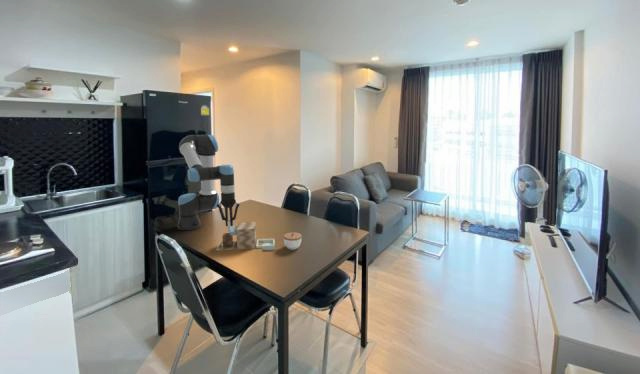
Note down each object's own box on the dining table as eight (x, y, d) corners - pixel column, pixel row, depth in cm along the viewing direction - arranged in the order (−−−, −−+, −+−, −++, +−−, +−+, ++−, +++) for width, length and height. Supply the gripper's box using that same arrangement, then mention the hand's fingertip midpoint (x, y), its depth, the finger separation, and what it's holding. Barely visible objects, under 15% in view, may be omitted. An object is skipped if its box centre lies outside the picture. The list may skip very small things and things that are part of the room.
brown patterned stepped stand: (215, 252, 172) (214, 230, 169) (219, 244, 183) (218, 223, 181) (255, 250, 175) (254, 228, 172) (256, 242, 187) (255, 222, 184)
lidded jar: (291, 242, 188) (291, 228, 186) (305, 246, 182) (305, 232, 180) (279, 248, 179) (279, 233, 177) (293, 252, 173) (293, 237, 171)
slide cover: (229, 235, 172) (229, 232, 172) (232, 229, 182) (232, 226, 181) (247, 234, 174) (247, 231, 173) (249, 228, 183) (249, 225, 183)
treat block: (222, 247, 175) (222, 236, 174) (224, 244, 180) (223, 233, 179) (231, 247, 176) (231, 235, 175) (232, 243, 181) (232, 232, 180)
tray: (256, 250, 175) (256, 246, 175) (257, 243, 186) (257, 239, 185) (274, 249, 177) (274, 245, 177) (274, 242, 187) (274, 238, 187)
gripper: (214, 193, 167) (217, 233, 172) (238, 193, 169) (240, 233, 174) (217, 190, 174) (219, 229, 179) (240, 190, 176) (241, 228, 181)
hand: (229, 231), depth 176 cm, fingers closed
